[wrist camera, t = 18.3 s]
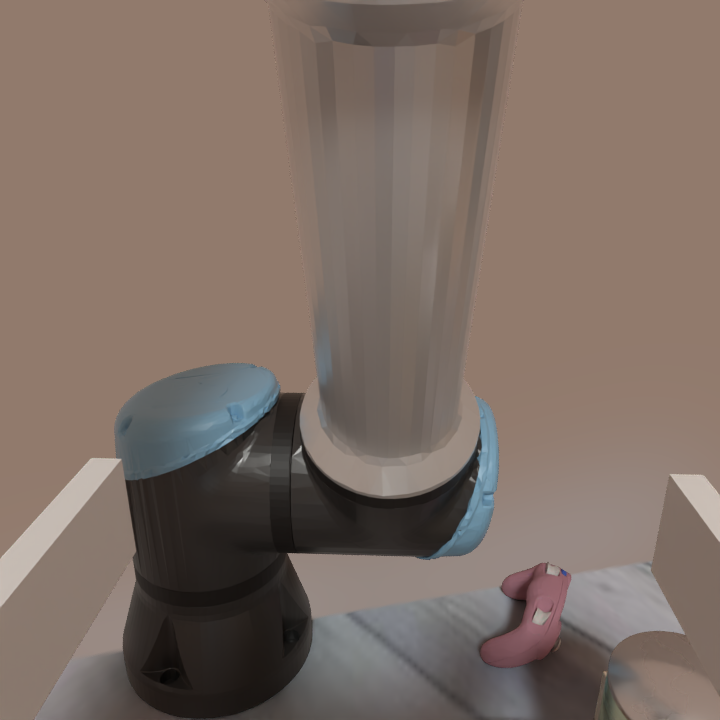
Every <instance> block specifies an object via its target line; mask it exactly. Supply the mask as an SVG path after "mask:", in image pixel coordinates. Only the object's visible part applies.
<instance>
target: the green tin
mask: <svg viewBox="0 0 720 720" xmlns="http://www.w3.org/2000/svg"><path fill="white" fill-rule="evenodd" d="M594 720H720V697H719V695H718V694H717V692H716V690H715V688H714V686H713V684H712V682H711V681H710V679H709V677H708V675H707V673H706V671H705V670H704V668H703V666H702V664H701V662H700V660H699V658H698V657H697V655H696V653H695V651H694V649H693V647H692V645H691V644H690V642H689V640H688V638H687V636H686V635H684V634H679V633H674V632H665V631H650V632H643V633H638V634H635V635H632V636H630V637H628V638H626V639H624V640H623V641H622V642H620V643H619V644H618V645H617V646H616V648H615V649H614V651H613V652H612V654H611V657H610V660H609V665H608V670H607V671H603V674H602V680H601V685H600V690H599V695H598V701H597V706H596V711H595V717H594Z"/></svg>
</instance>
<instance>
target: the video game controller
mask: <svg viewBox="0 0 720 720" xmlns="http://www.w3.org/2000/svg"><path fill="white" fill-rule="evenodd" d="M570 582H571V575H570V574H569V573H567V572H566V571H564V570H562V569H561V568H560V567H558V566H554V565H550V564H549V562H547V563H540V564H538V565H536V566H534V567H532V568H530V569H527V570H525V571H521V572H517V573H515V574H512V575H509V576H508V577H507V578H506V579H505V580H504V581H503V583H502V590H503V592H504V594H505V595H506V596H508V597H510V598H513V599H517V600H526V608H525V611H524V614H523V618H522V622H521V624H520V625H519V626H518V628H516V629H514V630H513V631H511V632H509V633H506V634H504V635H501V636H498V637H495V638H492V639H490V640H488V641H487V642H485V643H484V644H483V645H482V646H481V650H480V655H481V657H482V659H483V661H484V662H486V663H487V664H489V665H492V666H494V667H500V668H513V667H518V666H521V665H524V664H527V663H530V662H532V661H534V660H536V659H538V660H542V659H543V658H544V657H545V656H546V655H547V654H548V653H549V652H550V651H551V652H555V651H556V650H558V649H559V647H560V645H561V639H560V638H558V636H559V634H560V631H561V621H560V620H559V619H560V616H561V613H562V610H563V607H564V604H565V599H566V595H567V589H568V587H569V584H570Z"/></svg>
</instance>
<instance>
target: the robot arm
mask: <svg viewBox="0 0 720 720" xmlns="http://www.w3.org/2000/svg"><path fill="white" fill-rule="evenodd" d="M265 1H266V3H267V4H268V8H269V16H270V23H271V31H272V38H273V46H274V53H275V61H276V68H277V75H278V84H279V91H280V98H281V106H282V114H283V121H284V129H285V137H286V144H287V152H288V159H289V167H290V175H291V182H292V189H293V197H294V204H295V212H296V220H297V228H298V235H299V243H300V250H301V258H302V265H303V273H304V281H305V288H306V296H307V302H308V310H309V318H310V326H311V333H312V341H313V348H314V356H315V363H316V371H317V377H316V378H315V379H314V381H313V382H312V383H311V385H310V386H309V388H308V390H307V392H306V393H280V385H279V382H278V381H277V380H276V377H275V375H274V374H273V373H272V372H271V371H270V370H268V369H267V368H264V367H257V366H255V365H253V364H245V363H229V364H228V363H227V364H217V365H210V366H204V367H200V368H195V369H191V370H187V371H184V372H180V373H177V374H174V375H171V376H169V377H167V378H164V379H161V380H159V381H157V382H155V383H153V384H151V385H149V386H147V387H145V388H144V389H142V390H140V391H139V392H137V393H136V394H135V395H134V396H133V397H131V398H130V399H129V400H128V401H127V402H126V403H125V404H124V406H123V407H122V408H121V410H120V411H119V413H118V415H117V418H116V421H115V427H114V433H115V446H116V459H107V458H91V459H90V460H89V461H88V463H86V465H85V466H84V467H83V468H82V469H81V470H80V471H79V472H78V473H77V474H76V476H75V477H74V478H73V479H72V480H71V481H70V482H69V483H68V485H67V486H66V487H65V488H64V489H63V490H62V491H61V492H60V493H59V494H58V495H57V497H56V498H55V499H54V500H53V501H52V502H51V503H50V504H49V506H48V507H47V508H46V509H45V510H44V511H43V512H42V513H41V514H40V515H39V516H38V518H37V519H36V520H35V521H34V522H33V523H32V524H31V525H30V526H29V528H28V529H27V530H26V531H25V532H24V533H23V534H22V535H21V537H20V538H19V539H18V540H17V541H16V542H15V543H14V544H13V545H12V546H11V547H10V549H9V550H8V551H7V552H6V553H5V554H4V555H3V556H2V557H1V559H0V720H34V718H35V717H36V715H37V713H38V712H39V710H40V708H41V707H42V705H43V703H44V702H45V700H46V699H47V697H48V695H49V694H50V692H51V690H52V689H53V687H54V685H55V684H56V682H57V681H58V679H59V677H60V676H61V674H62V672H63V671H64V669H65V667H66V666H67V664H68V663H69V661H70V659H71V658H72V656H73V654H74V653H75V651H76V649H77V648H78V646H79V644H80V643H81V641H82V639H83V638H84V636H85V634H86V633H87V631H88V630H89V628H90V626H91V625H92V623H93V622H94V620H95V618H96V617H97V615H98V613H99V612H100V610H101V608H102V607H103V605H104V603H105V602H106V600H107V598H108V597H109V595H110V594H111V592H112V590H113V589H114V587H115V585H116V584H117V582H118V581H119V579H120V577H121V576H122V574H123V572H124V571H125V569H126V567H127V566H128V564H129V563H130V561H131V559H132V558H133V562H134V568H135V575H136V582H135V587H134V591H133V595H132V600H131V604H130V608H129V612H128V616H127V621H126V626H125V629H124V634H123V654H124V660H125V665H126V671H127V675H128V678H129V681H130V683H131V685H132V687H133V689H134V690H135V691H136V693H137V694H138V695H139V696H140V697H141V698H142V699H143V700H144V701H145V702H146V703H148V704H149V705H151V706H152V707H154V708H156V709H158V710H160V711H162V712H165V713H168V714H171V715H175V716H179V717H186V718H215V717H222V716H227V715H231V714H235V713H238V712H241V711H244V710H247V709H249V708H252V707H254V706H256V705H258V704H260V703H262V702H264V701H266V700H267V699H269V698H270V697H272V696H273V695H275V694H276V693H278V692H279V691H280V690H281V689H283V688H284V687H285V686H286V685H287V684H288V683H289V682H290V681H291V680H292V679H293V678H294V677H295V675H296V674H297V673H298V672H299V670H300V669H301V667H302V666H303V664H304V662H305V660H306V658H307V656H308V653H309V650H310V646H311V641H312V621H311V609H310V604H309V600H308V597H307V595H306V593H305V591H304V589H303V586H302V584H301V582H300V580H299V578H298V576H297V573H296V571H295V569H294V567H293V565H292V563H291V561H290V559H289V556H288V554H287V553H309V554H310V553H311V554H343V555H344V554H345V555H378V556H379V555H381V556H413V557H414V556H415V557H417V558H419V559H425V560H430V559H436V558H439V557H441V556H462V555H465V554H468V553H470V552H472V551H473V550H474V549H475V548H476V547H477V546H478V545H479V544H480V543H481V541H482V540H483V538H484V536H485V534H486V532H487V530H488V527H489V524H490V521H491V518H492V514H493V510H494V498H493V494H494V492H495V491H496V489H497V482H498V470H499V447H498V437H497V430H496V423H495V418H494V415H493V412H492V410H491V408H490V407H489V405H488V404H487V403H486V402H485V401H484V400H483V399H480V398H479V397H476V396H474V393H473V391H472V389H471V388H470V386H469V385H468V383H467V382H466V380H465V379H464V371H465V365H466V358H467V352H468V346H469V340H470V333H471V327H472V320H473V314H474V308H475V302H476V294H477V289H478V282H479V276H480V270H481V263H482V257H483V251H484V245H485V238H486V232H487V226H488V219H489V213H490V207H491V200H492V194H493V188H494V181H495V175H496V169H497V162H498V156H499V150H500V143H501V137H502V131H503V124H504V118H505V112H506V105H507V99H508V93H509V87H510V79H511V74H512V68H513V61H514V55H515V49H516V42H517V35H518V29H519V23H520V17H521V11H522V4H523V1H524V0H265ZM651 571H652V573H653V575H654V577H655V579H656V581H657V583H658V584H659V586H660V588H661V590H662V592H663V594H664V595H665V597H666V599H667V601H668V603H669V605H670V607H671V608H672V610H673V612H674V614H675V616H676V618H677V620H678V621H679V623H680V625H681V627H682V629H683V631H684V632H685V634H686V636H687V638H688V640H689V642H690V644H691V645H692V647H693V649H694V651H695V653H696V655H697V657H698V658H699V660H700V662H701V664H702V666H703V668H704V670H705V671H706V673H707V675H708V677H709V679H710V681H711V682H712V684H713V686H714V688H715V690H716V692H717V694H718V695H719V697H720V495H719V494H718V492H717V491H716V490H715V489H714V487H713V486H712V485H711V484H710V483H709V482H708V480H707V479H706V478H705V477H704V475H681V474H679V475H678V474H670V475H669V480H668V485H667V490H666V496H665V501H664V506H663V511H662V516H661V521H660V527H659V532H658V537H657V542H656V547H655V552H654V557H653V563H652V568H651Z"/></svg>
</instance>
